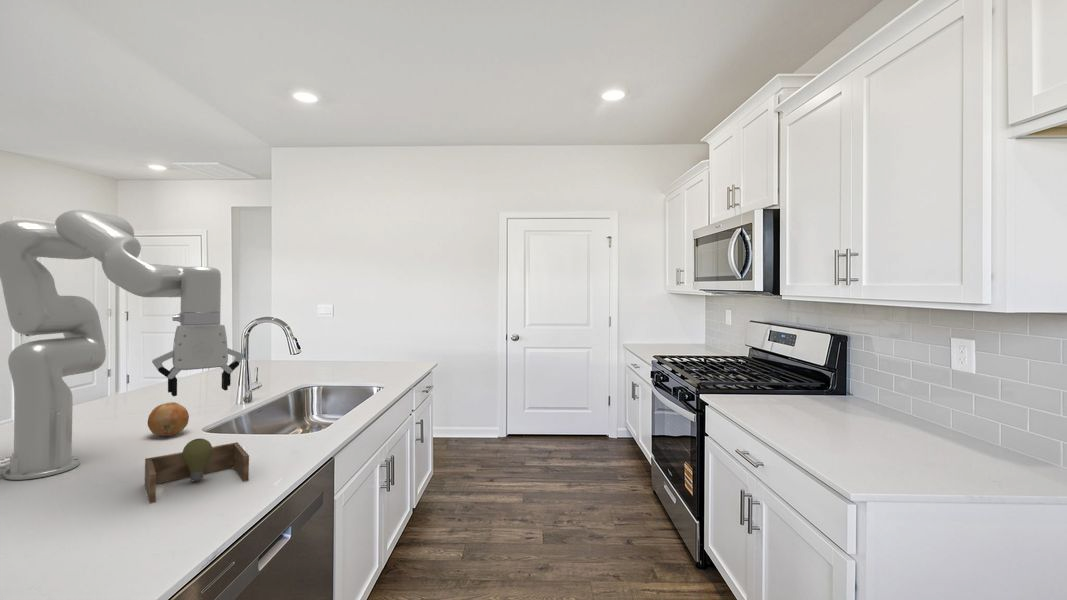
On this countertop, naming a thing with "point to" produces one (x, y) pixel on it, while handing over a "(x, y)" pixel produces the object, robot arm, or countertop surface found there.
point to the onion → (168, 419)
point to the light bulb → (197, 457)
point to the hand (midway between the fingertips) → (200, 392)
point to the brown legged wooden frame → (177, 467)
